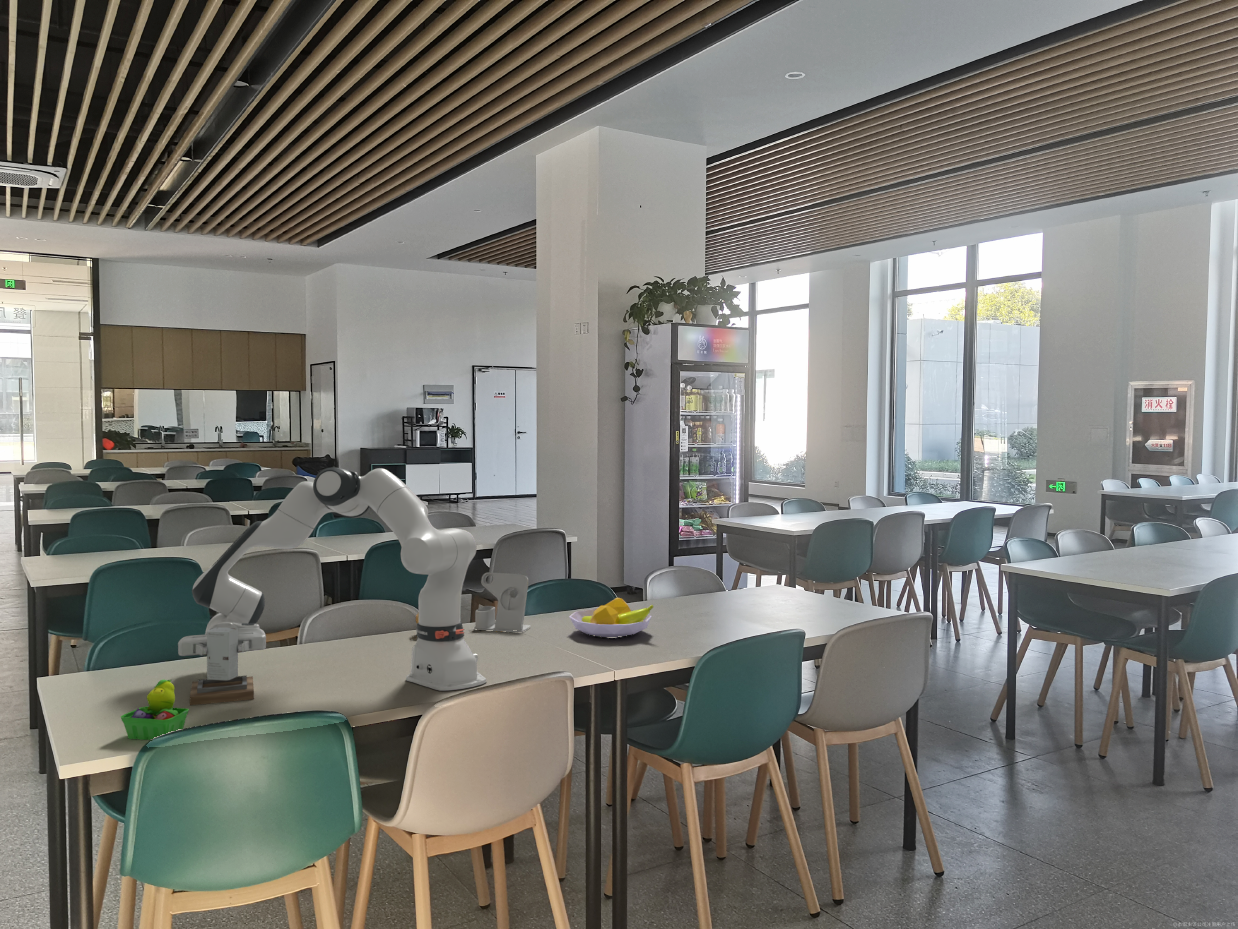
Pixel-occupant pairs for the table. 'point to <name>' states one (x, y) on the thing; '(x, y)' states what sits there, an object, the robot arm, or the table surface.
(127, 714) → the fruit basket
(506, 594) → the phone holder
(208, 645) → the skincare box
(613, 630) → the fruit bowl
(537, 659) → the table surface
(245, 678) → the socket plinth
